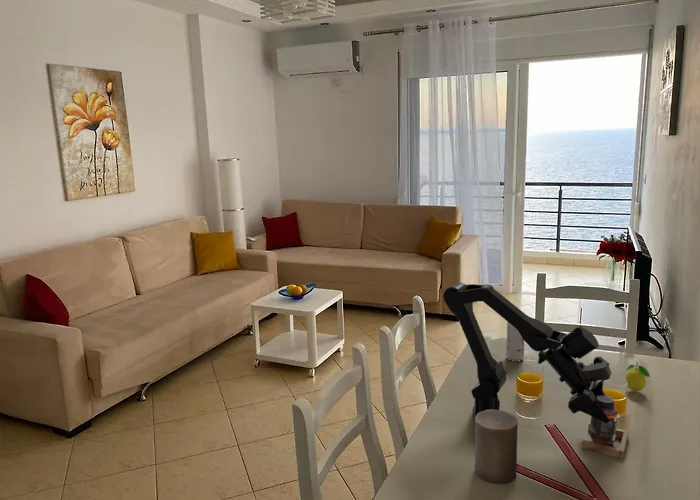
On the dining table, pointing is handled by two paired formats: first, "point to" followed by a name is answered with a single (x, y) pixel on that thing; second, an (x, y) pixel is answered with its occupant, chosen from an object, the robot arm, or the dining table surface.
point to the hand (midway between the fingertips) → (609, 416)
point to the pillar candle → (496, 446)
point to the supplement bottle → (601, 430)
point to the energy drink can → (514, 344)
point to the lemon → (636, 377)
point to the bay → (608, 449)
